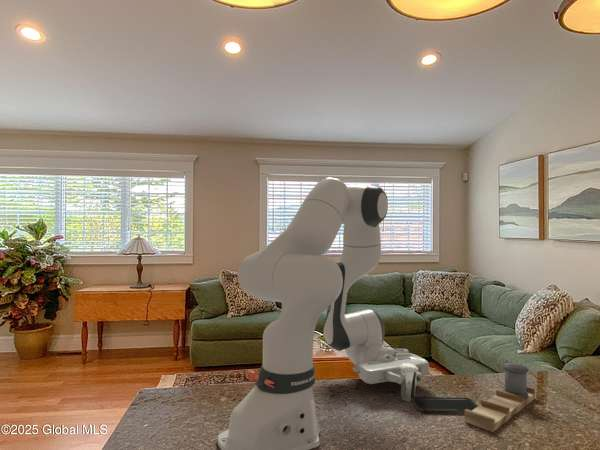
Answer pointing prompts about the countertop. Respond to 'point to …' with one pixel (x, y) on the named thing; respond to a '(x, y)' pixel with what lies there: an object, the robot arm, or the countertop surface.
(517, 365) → the spool
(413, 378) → the milkshake
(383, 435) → the countertop surface
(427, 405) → the phone
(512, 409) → the organizer
